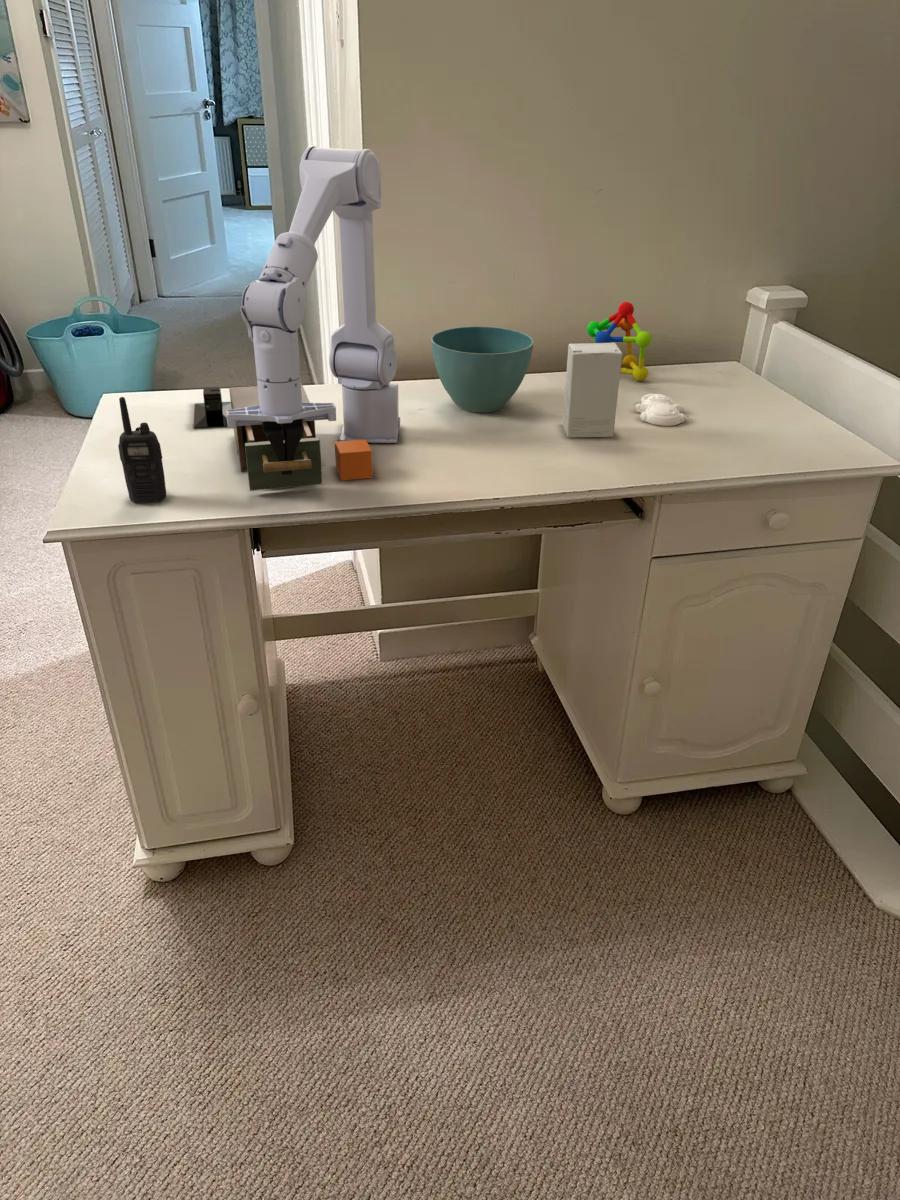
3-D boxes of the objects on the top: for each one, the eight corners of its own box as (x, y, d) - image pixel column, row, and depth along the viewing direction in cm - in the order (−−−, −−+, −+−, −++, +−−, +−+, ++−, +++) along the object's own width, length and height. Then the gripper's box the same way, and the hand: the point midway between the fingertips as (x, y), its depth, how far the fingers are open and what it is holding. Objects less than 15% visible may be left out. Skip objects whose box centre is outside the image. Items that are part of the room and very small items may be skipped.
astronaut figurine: (680, 405, 162) (683, 389, 161) (686, 427, 152) (688, 411, 151) (633, 402, 163) (635, 386, 162) (635, 424, 153) (638, 407, 152)
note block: (372, 477, 130) (371, 450, 128) (341, 480, 129) (339, 453, 127) (366, 465, 134) (365, 439, 132) (335, 468, 133) (334, 441, 131)
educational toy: (573, 372, 182) (578, 298, 175) (628, 369, 185) (635, 296, 178) (604, 388, 168) (610, 308, 162) (663, 384, 172) (672, 306, 165)
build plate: (236, 427, 147) (233, 401, 145) (192, 430, 146) (188, 403, 143) (234, 403, 157) (231, 378, 155) (193, 405, 156) (189, 380, 153)
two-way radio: (126, 505, 120) (106, 400, 112) (131, 492, 124) (112, 390, 116) (167, 503, 121) (150, 399, 113) (170, 490, 125) (154, 388, 117)
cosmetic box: (607, 426, 152) (617, 341, 144) (613, 439, 147) (625, 351, 139) (559, 426, 151) (568, 340, 144) (564, 438, 146) (573, 351, 138)
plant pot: (473, 429, 149) (476, 359, 142) (410, 401, 161) (410, 334, 154) (548, 409, 159) (554, 342, 152) (484, 384, 170) (487, 321, 164)
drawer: (327, 498, 122) (325, 452, 118) (252, 505, 119) (248, 459, 116) (309, 451, 136) (307, 409, 133) (242, 456, 134) (238, 414, 130)
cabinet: (317, 465, 134) (314, 411, 129) (241, 471, 131) (235, 417, 127) (305, 433, 145) (301, 383, 141) (234, 438, 143) (229, 387, 138)
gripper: (224, 389, 109) (235, 487, 116) (338, 382, 112) (342, 478, 120) (221, 372, 115) (232, 467, 122) (329, 366, 118) (334, 459, 125)
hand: (286, 471), depth 121 cm, fingers closed, pressing on drawer
